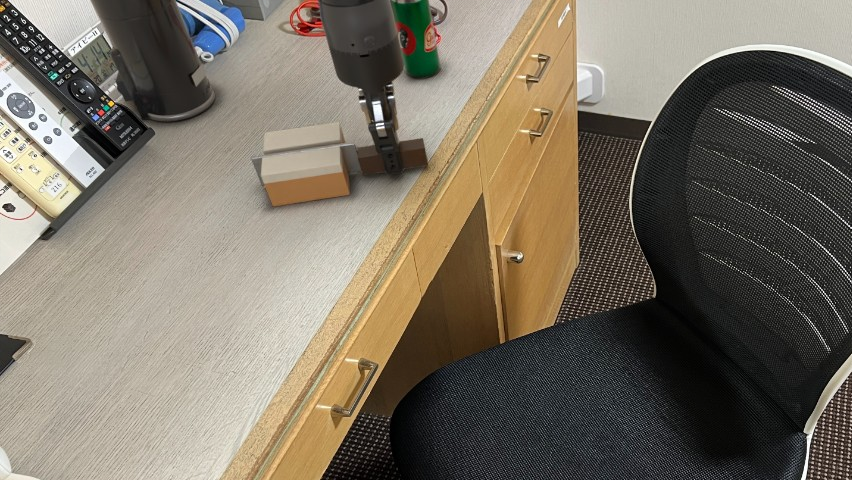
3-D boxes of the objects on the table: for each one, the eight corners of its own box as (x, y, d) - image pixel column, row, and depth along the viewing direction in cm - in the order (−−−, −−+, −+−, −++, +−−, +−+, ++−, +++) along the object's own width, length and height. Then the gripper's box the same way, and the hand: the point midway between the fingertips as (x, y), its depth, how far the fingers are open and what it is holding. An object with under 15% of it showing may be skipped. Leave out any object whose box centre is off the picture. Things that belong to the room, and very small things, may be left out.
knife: (261, 190, 99) (250, 163, 96) (262, 180, 100) (251, 152, 97) (428, 165, 101) (422, 137, 98) (426, 155, 103) (421, 127, 100)
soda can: (438, 79, 117) (423, -5, 108) (403, 80, 117) (385, -3, 108) (442, 61, 120) (428, -21, 111) (408, 62, 120) (391, -20, 111)
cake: (274, 181, 101) (262, 150, 98) (275, 163, 103) (264, 132, 100) (349, 170, 102) (339, 139, 99) (348, 152, 105) (339, 121, 101)
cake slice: (272, 206, 97) (260, 175, 94) (274, 188, 100) (261, 157, 96) (349, 194, 99) (340, 163, 95) (349, 177, 101) (339, 146, 98)
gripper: (325, 8, 93) (361, 139, 106) (326, 69, 84) (366, 204, 96) (392, 0, 94) (420, 130, 107) (400, 59, 85) (430, 194, 98)
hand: (394, 165), depth 102 cm, fingers closed on knife, 2 cm apart
